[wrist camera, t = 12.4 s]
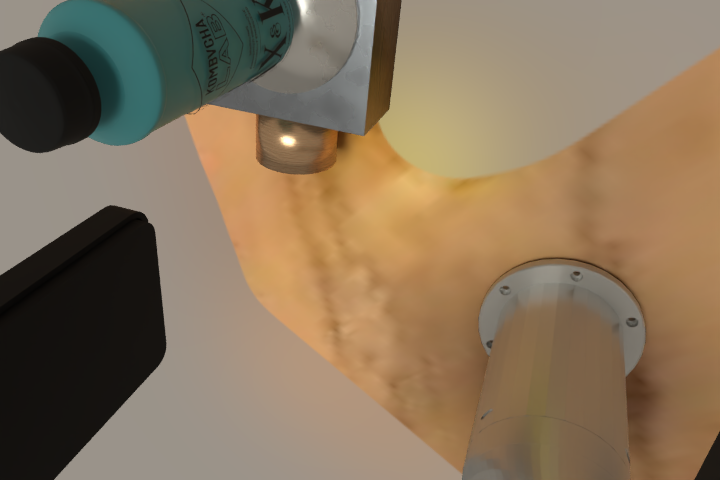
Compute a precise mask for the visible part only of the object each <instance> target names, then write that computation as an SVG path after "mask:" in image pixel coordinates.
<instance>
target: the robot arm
mask: <svg viewBox="0 0 720 480" xmlns="http://www.w3.org/2000/svg"><path fill="white" fill-rule="evenodd" d="M575 271H578V272H579V273H576V272H575ZM506 286H508V287H506ZM479 334H480V338H481V342H482V345H483V347H484V349H485V351H486V353H487V355H488V356H489V360H488V364H487V369H486V373H485V377H484V381H483V386H482V390H481V394H480V398H479V402H478V407H477V411H476V415H475V419H474V424H473V428H472V432H471V436H470V441H469V445H468V449H467V454H466V459H465V463H464V467H463V475H462V480H631V479H630V457H629V437H628V418H627V398H626V378H625V377H626V376H627V375H628V374H629V373H630V372H631V371H632V370H633V369H634V368H635V367H636V365H637V363H638V361H639V360H640V358H641V356H642V354H643V350H644V346H645V335H646V329H645V322H644V316H643V314H642V311H641V308H640V306H639V304H638V302H637V300H636V299H635V297H634V296H633V294H632V293H631V292H630V291H629V290H628V289H627V288H626V287H625V286H624V285H623V284H622V283H621V282H620V281H619V280H618V279H616V278H615V277H613V276H612V275H610V274H609V273H608V272H606V271H604V270H601V269H599V268H597V267H595V266H593V265H590V264H586V263H582V262H579V261H574V260H565V259H543V260H538V261H533V262H529V263H526V264H523V265H521V266H518V267H516V268H513V269H512V270H510V271H509V272H507V273H505V274H504V275H502V276H501V277H500V278H499V279H498V280H497V281H496V282H495V283H494V284H493V285H492V286H491V288H490V289H489V291H488V292H487V294H486V295H485V298H484V300H483V303H482V306H481V310H480V314H479ZM165 351H166V336H165V326H164V316H163V306H162V296H161V286H160V276H159V266H158V256H157V246H156V236H155V230H154V227H153V225H152V224H150V223H148V219H147V217H146V216H145V214H143V213H142V212H138V211H134V210H130V209H126V208H122V207H118V206H111V205H110V206H107V207H105V208H104V209H102V210H100V211H99V212H97V213H96V214H94V215H93V216H91V217H90V218H88V219H86V220H85V221H83V222H82V223H80V224H79V225H77V226H76V227H74V228H72V229H71V230H70V231H68V232H67V233H65V234H64V235H62V236H60V237H59V238H57V239H56V240H54V241H53V242H51V243H49V244H48V245H46V246H45V247H43V248H42V249H40V250H39V251H37V252H36V253H34V254H33V255H31V256H30V257H28V258H26V259H25V260H23V261H22V262H20V263H19V264H17V265H16V266H14V267H13V268H11V269H10V270H8V271H7V272H5V273H3V274H2V275H0V480H54V479H55V478H56V477H57V476H58V474H59V473H60V472H61V471H62V470H63V469H64V468H65V467H66V465H68V464H69V462H70V461H71V460H72V459H73V458H74V457H75V456H76V455H77V454H78V452H80V450H81V449H82V448H83V447H84V446H85V445H86V444H87V443H88V442H89V441H90V440H91V438H92V437H93V436H94V435H95V434H96V433H97V432H98V431H99V430H100V429H101V428H102V427H103V425H104V424H105V423H106V422H107V421H108V420H109V419H110V418H111V417H112V416H113V415H114V414H115V412H116V411H117V410H118V409H119V408H120V407H121V406H122V405H123V404H124V402H125V401H126V400H127V399H128V398H129V397H130V396H131V395H132V394H133V393H134V392H135V391H136V390H137V388H138V387H139V386H140V385H141V384H142V383H143V382H144V381H145V380H146V379H147V377H149V375H150V374H151V373H152V372H153V371H154V370H155V369H156V368H157V367H158V366H159V364H160V363H161V361H162V359H163V357H164V355H165ZM695 480H720V432H719V434H718V436H717V438H716V440H715V441H714V443H713V445H712V447H711V449H710V451H709V453H708V455H707V457H706V459H705V461H704V462H703V464H702V466H701V468H700V470H699V472H698V474H697V476H696V478H695Z"/></svg>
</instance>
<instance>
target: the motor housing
mask: <svg viewBox="0 0 720 480" xmlns="http://www.w3.org/2000/svg"><path fill="white" fill-rule="evenodd" d="M289 2H290V5H291V8H292V11H293V17H294V33H293V38H292V43H291V47H289V49H290V50H289V49H288V51H289V52H288V51H287V52H286V54H285V56H284V58H283V59H282V60H281V62H279V63H278V64H277V65H276V66H277V67H276V66H275V67H276V68H275V67H273V68H272V69H270V70H269V71H267V72H266V73H264V74H263V75H264V76H263V75H261V76H262V77H261V76H260V78H259V77H258V79H256V80H254V81H252V82H250V81H251V80H253V79H254V78H256V77H257V76H256V77H254V78H252V79H251V80H250V81H248V82H246V83H244V84H243V85H241V86H239V87H237V88H235V89H233V90H232V91H230V92H227V93H225V94H226V95H225V94H223V95H222V96H221V97H218V98H217V99H216V101H217V102H216V101H214V100H215V99H214V100H212V101H211V102H212V103H211V102H209V103H208V104H211V105H216V106H220V107H225V108H230V109H235V110H240V111H245V112H250V113H255V114H256V159H257V161H258V162H259V163H260V164H261V165H263V166H264V167H266V168H268V169H271V170H274V171H277V172H281V173H287V174H313V173H318V172H322V171H325V170H327V169H329V168H331V167H332V166H333V165H334V164H335V162H336V152H337V139H338V131H342V132H347V133H352V134H357V135H362V136H365V134H366V133H367V132H368V131H369V130H370V129H371V128H372V127H373V126H374V125H375V124H376V123H377V122H378V121H379V120H380V118H381V117H382V116H383V115H384V114H385V113H386V112H387V111H388V110H389V105H390V97H391V88H392V80H393V71H394V62H395V53H396V44H397V36H398V26H399V17H400V9H401V0H289ZM287 53H288V54H287ZM286 55H287V56H286ZM282 61H283V62H282ZM274 68H275V69H274ZM273 69H274V70H273ZM272 70H273V71H272ZM258 76H259V75H258ZM249 82H250V83H249ZM228 94H229V95H228ZM223 96H226V97H223ZM218 100H219V101H218Z"/></svg>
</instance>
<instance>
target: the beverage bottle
mask: <svg viewBox="0 0 720 480" xmlns="http://www.w3.org/2000/svg"><path fill="white" fill-rule="evenodd" d="M293 33H294V17H293V11H292V8H291V5H290V2H289V0H67V1H65V2H62V3H60V4H59V5H57V6H56V7H54V8H53V9H52V10H51V11H50V12H49V13H48V15H47V16H46V18H45V19H44V21H43V23H42V25H41V27H40V30H39V33H38V37H35V38H30V39H27V40H24V41H21V42H19V43H16V44H15V45H13V46H12V47H9V48H7V49H4V50H2V51H0V133H1V134H2V135H3V136H4V137H5V138H6V139H8V140H9V141H10V142H11V143H13V144H14V145H16V146H18V147H19V148H22V149H24V150H27V151H30V152H35V153H43V152H49V151H53V150H55V149H58V148H61V147H63V146H66V145H71V144H74V143H77V142H79V141H81V140H83V139H85V138H87V137H89V138H91V139H93V140H95V141H98V142H101V143H104V144H108V145H116V146H119V145H128V144H132V143H135V142H137V141H140V140H142V139H143V138H145V137H146V136H148V135H149V134H150V133H151V132H153V131H154V130H157V129H158V128H160V127H162V126H164V125H166V124H168V123H170V122H171V121H173V120H175V119H177V118H179V117H181V116H182V115H185V114H189V113H190V112H192V111H194V110H196V109H198V108H199V107H200V108H201V107H203V105H207V104H208V103H209V102H211V101H212V100H214V99H215V100H214V101H216V99H217V98H218V97H221V96H222V95H223V94H225V93H227V92H230V91H232V90H233V89H235V88H237V87H239V86H241V85H243V84H244V83H246V82H248V81H250V80H251V79H252V78H254V77H256V76H257V77H256V78H254V79H253V80H251V81H250V82H252V81H254V80H256V79H258V77H259V78H260V76H261V75H263V74H264V73H266V72H267V71H269V70H270V69H272V68H273V67H275V66H276V65H277V64H278V63H279V62H281V60H282V59H283V58H284V56H285V54H286V52H287V51H288V49H289V47H291V43H292V38H293ZM289 50H290V49H289ZM288 52H289V51H288ZM287 54H288V53H287ZM286 56H287V55H286ZM282 62H283V61H282ZM276 67H277V66H276ZM276 67H275V68H276ZM275 68H274V69H275ZM274 69H273V70H274ZM273 70H272V71H273ZM258 75H259V76H258ZM263 76H264V75H263ZM261 77H262V76H261ZM250 82H249V83H250ZM225 95H226V94H225ZM228 95H229V94H228ZM223 97H226V96H223ZM218 101H219V100H218ZM216 102H217V101H216ZM211 103H212V102H211ZM209 105H210V104H209ZM200 108H199V110H200ZM199 110H198V111H199ZM198 111H197V112H198ZM197 112H196V113H197ZM194 114H195V113H194Z"/></svg>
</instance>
